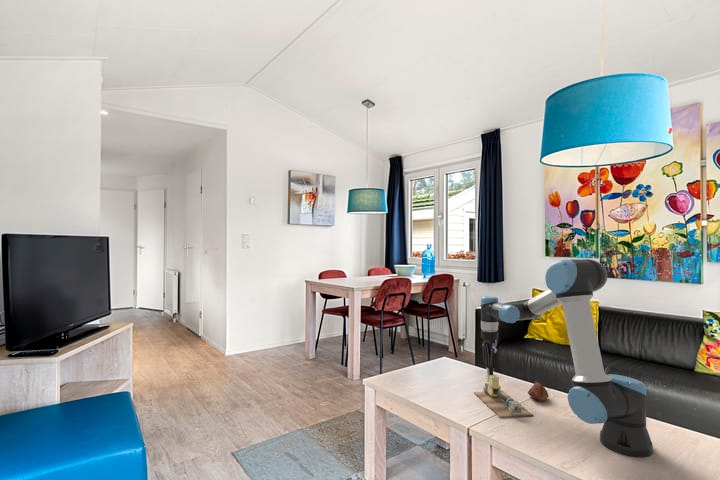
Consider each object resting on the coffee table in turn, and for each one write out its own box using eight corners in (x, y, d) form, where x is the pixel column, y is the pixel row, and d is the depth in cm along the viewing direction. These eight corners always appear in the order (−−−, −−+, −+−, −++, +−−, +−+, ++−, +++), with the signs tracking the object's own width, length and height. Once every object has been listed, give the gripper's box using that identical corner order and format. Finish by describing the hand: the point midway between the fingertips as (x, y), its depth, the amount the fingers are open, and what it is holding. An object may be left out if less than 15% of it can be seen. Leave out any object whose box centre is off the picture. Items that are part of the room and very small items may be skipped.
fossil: (539, 397, 168) (533, 374, 174) (522, 401, 174) (517, 378, 179) (555, 403, 174) (550, 380, 180) (538, 406, 180) (533, 383, 185)
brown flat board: (533, 416, 158) (533, 403, 158) (499, 418, 157) (499, 404, 157) (502, 392, 184) (502, 380, 184) (473, 393, 182) (473, 381, 182)
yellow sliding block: (500, 396, 175) (500, 377, 176) (491, 396, 175) (491, 377, 175) (496, 392, 179) (496, 374, 180) (487, 393, 179) (487, 374, 179)
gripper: (504, 333, 176) (504, 386, 176) (491, 327, 189) (491, 376, 189) (487, 333, 175) (488, 386, 175) (476, 327, 188) (476, 377, 188)
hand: (489, 381), depth 182 cm, fingers closed
